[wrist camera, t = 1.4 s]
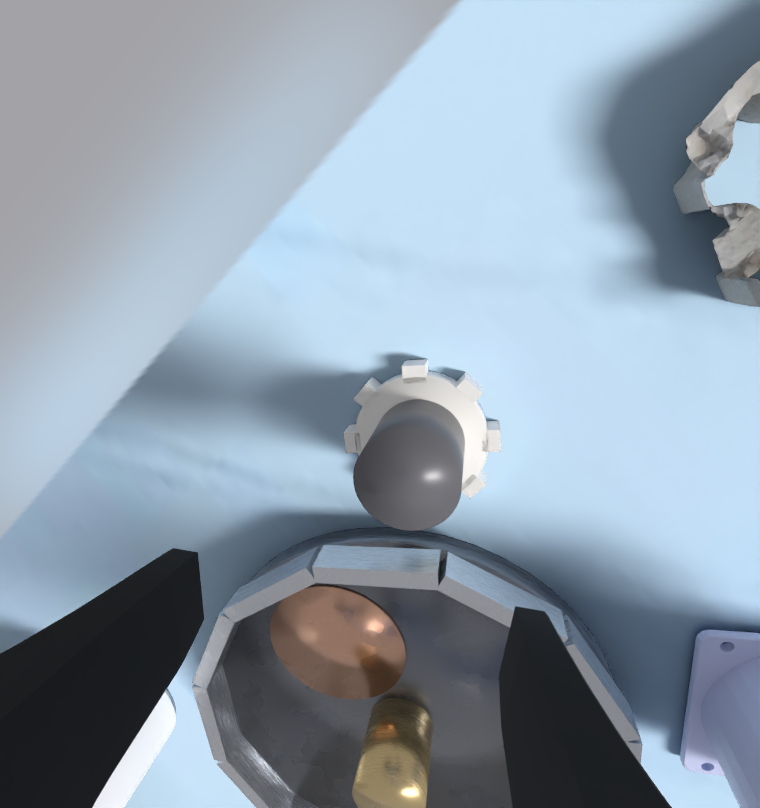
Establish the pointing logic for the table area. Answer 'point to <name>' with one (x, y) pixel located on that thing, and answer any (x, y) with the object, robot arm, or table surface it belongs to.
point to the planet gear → (419, 445)
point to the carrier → (377, 673)
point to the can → (139, 755)
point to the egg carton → (747, 225)
